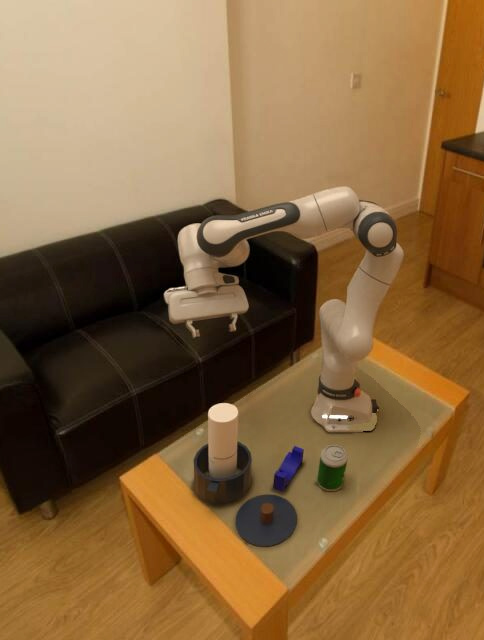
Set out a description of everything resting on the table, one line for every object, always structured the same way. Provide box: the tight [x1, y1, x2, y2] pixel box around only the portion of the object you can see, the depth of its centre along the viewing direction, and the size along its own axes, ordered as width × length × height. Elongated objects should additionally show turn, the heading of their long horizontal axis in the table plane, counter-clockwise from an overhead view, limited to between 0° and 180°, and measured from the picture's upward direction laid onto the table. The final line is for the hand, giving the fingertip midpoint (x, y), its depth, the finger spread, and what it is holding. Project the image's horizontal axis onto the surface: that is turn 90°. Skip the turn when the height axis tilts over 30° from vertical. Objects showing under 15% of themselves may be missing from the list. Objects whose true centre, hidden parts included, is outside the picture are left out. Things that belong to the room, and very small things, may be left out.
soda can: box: [316, 444, 349, 492], centre depth 138 cm, size 8×8×12 cm
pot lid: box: [235, 493, 298, 548], centre depth 126 cm, size 15×15×5 cm
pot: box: [193, 440, 253, 506], centre depth 132 cm, size 15×20×10 cm
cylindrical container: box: [207, 402, 239, 479], centre depth 128 cm, size 7×7×25 cm
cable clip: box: [272, 445, 305, 493], centre depth 139 cm, size 12×4×6 cm, turn 160°
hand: (215, 334), depth 129 cm, fingers open, 8 cm apart
